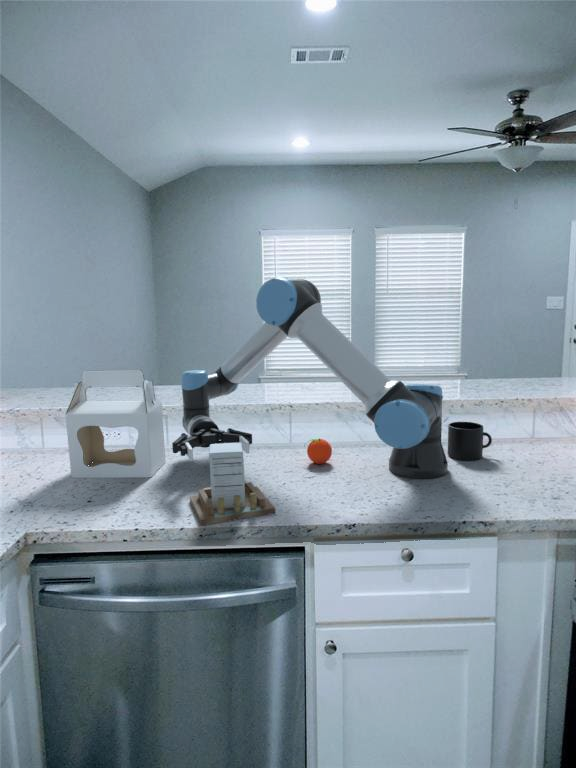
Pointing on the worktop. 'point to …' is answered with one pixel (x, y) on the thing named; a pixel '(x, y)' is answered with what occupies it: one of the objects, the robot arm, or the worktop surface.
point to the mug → (466, 441)
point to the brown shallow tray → (253, 507)
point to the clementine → (319, 451)
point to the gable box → (113, 414)
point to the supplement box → (227, 473)
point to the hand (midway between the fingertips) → (220, 451)
